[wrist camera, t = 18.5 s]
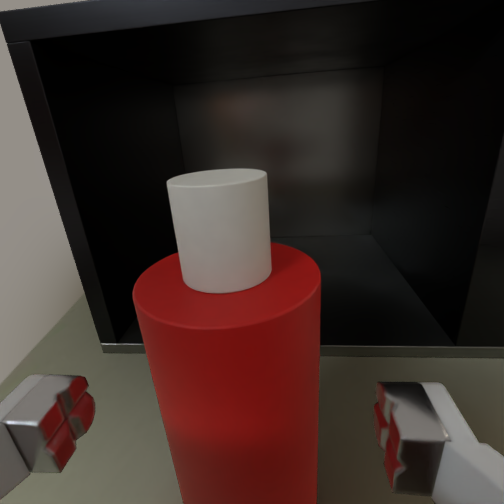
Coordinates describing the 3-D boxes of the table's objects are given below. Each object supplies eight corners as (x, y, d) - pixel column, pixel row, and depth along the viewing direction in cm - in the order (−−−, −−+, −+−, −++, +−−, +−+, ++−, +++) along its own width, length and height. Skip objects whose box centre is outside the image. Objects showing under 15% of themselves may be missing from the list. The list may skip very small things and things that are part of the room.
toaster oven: (95, 363, 26) (-24, 4, 16) (188, 243, 50) (162, 74, 41) (585, 371, 21) (795, -103, 12) (423, 236, 46) (452, 46, 37)
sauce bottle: (176, 594, 13) (51, 206, 6) (208, 453, 18) (157, 167, 12) (322, 610, 12) (339, 193, 6) (311, 458, 17) (313, 158, 11)
